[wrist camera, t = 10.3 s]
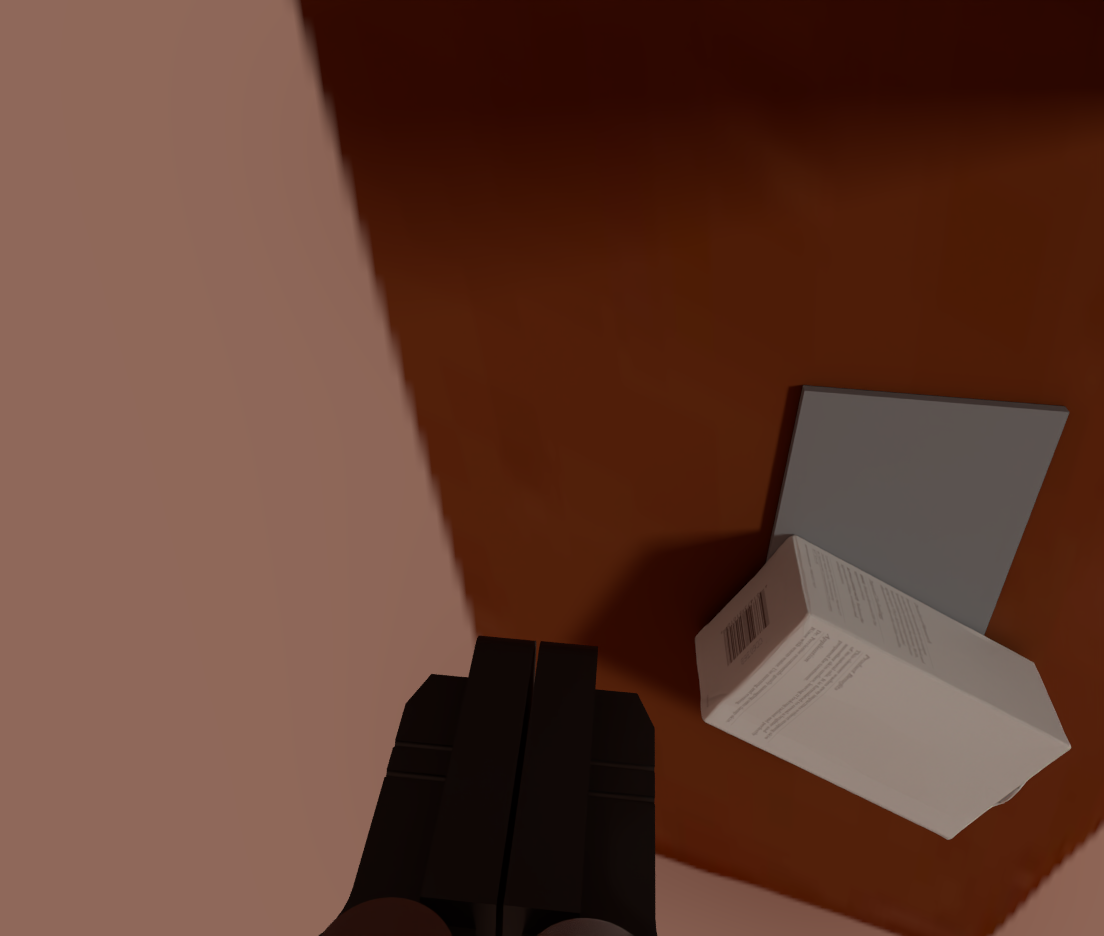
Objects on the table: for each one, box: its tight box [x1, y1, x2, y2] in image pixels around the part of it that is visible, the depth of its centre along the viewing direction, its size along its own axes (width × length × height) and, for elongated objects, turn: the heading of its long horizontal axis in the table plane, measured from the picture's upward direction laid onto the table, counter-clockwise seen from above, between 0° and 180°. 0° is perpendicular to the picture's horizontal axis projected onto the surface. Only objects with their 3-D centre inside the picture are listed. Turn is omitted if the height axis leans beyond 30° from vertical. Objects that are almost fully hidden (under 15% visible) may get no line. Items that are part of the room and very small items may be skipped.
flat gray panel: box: [766, 385, 1069, 635], centre depth 45 cm, size 11×16×1 cm
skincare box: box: [695, 535, 1071, 840], centre depth 46 cm, size 8×6×15 cm
